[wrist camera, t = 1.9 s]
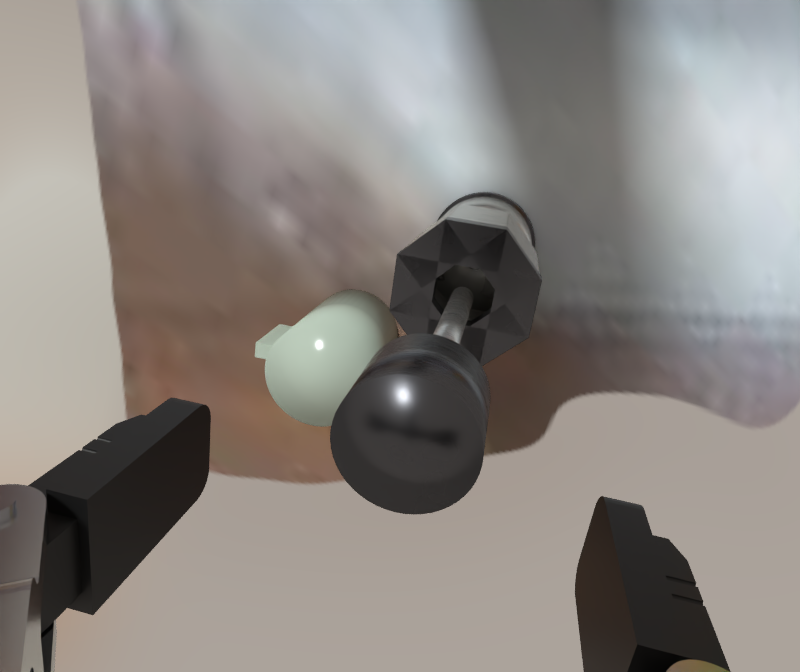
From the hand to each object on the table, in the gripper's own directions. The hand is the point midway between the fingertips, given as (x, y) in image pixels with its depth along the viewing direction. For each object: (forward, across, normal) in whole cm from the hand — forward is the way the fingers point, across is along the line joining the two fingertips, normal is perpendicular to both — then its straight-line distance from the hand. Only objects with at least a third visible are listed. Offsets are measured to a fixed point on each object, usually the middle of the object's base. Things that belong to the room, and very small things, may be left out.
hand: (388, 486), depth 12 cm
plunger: (+16, 0, 0) cm, 16 cm away
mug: (+30, +8, +8) cm, 32 cm away
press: (+30, 0, 0) cm, 30 cm away
